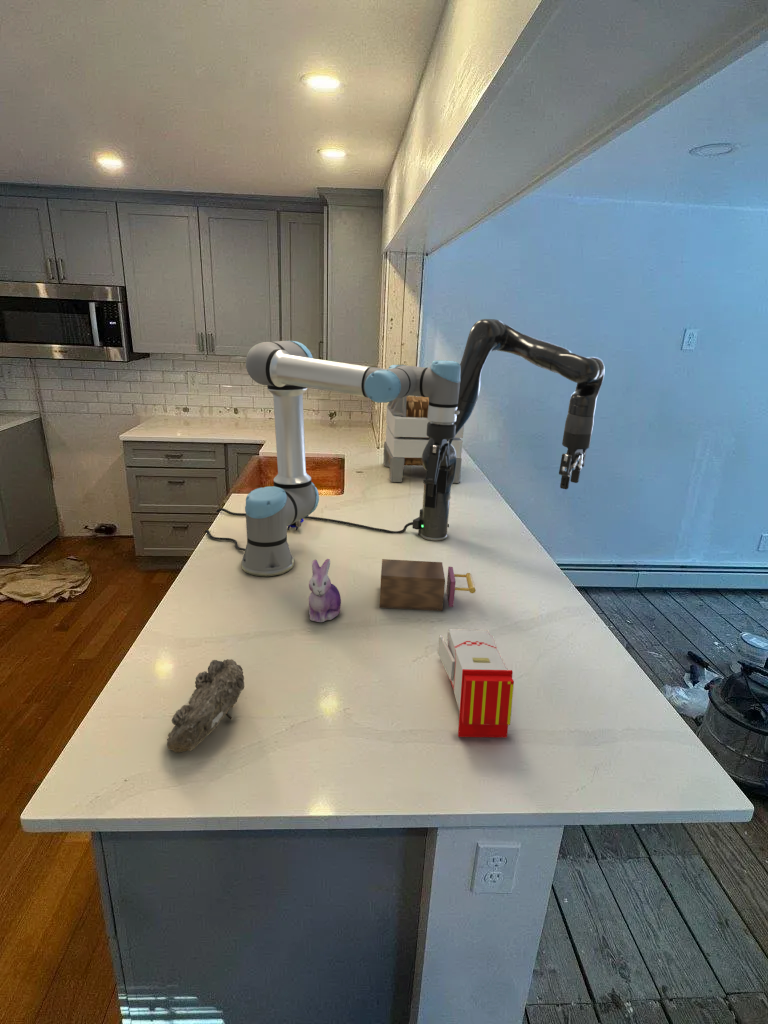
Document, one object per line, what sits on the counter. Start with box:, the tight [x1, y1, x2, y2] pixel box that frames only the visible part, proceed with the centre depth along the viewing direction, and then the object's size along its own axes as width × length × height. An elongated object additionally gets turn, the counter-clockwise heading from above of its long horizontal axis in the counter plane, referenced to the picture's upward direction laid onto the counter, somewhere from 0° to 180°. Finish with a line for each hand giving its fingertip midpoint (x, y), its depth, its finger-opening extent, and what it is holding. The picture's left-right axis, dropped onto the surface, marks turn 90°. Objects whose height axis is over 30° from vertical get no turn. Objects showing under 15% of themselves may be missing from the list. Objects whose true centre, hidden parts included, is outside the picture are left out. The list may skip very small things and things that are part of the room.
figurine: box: [308, 558, 342, 623], centre depth 143 cm, size 9×10×15 cm
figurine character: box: [287, 519, 305, 532], centre depth 202 cm, size 7×8×15 cm
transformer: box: [383, 396, 465, 484], centre depth 268 cm, size 34×33×41 cm
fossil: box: [166, 658, 245, 754], centre depth 106 cm, size 22×10×15 cm
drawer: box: [443, 566, 477, 608], centre depth 153 cm, size 21×9×8 cm, turn 88°
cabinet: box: [379, 558, 446, 612], centre depth 153 cm, size 17×10×9 cm, turn 88°
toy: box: [437, 628, 515, 738], centre depth 117 cm, size 12×13×30 cm
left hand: (435, 499), depth 155 cm, fingers open, 13 cm apart
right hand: (569, 485), depth 165 cm, fingers open, 8 cm apart
